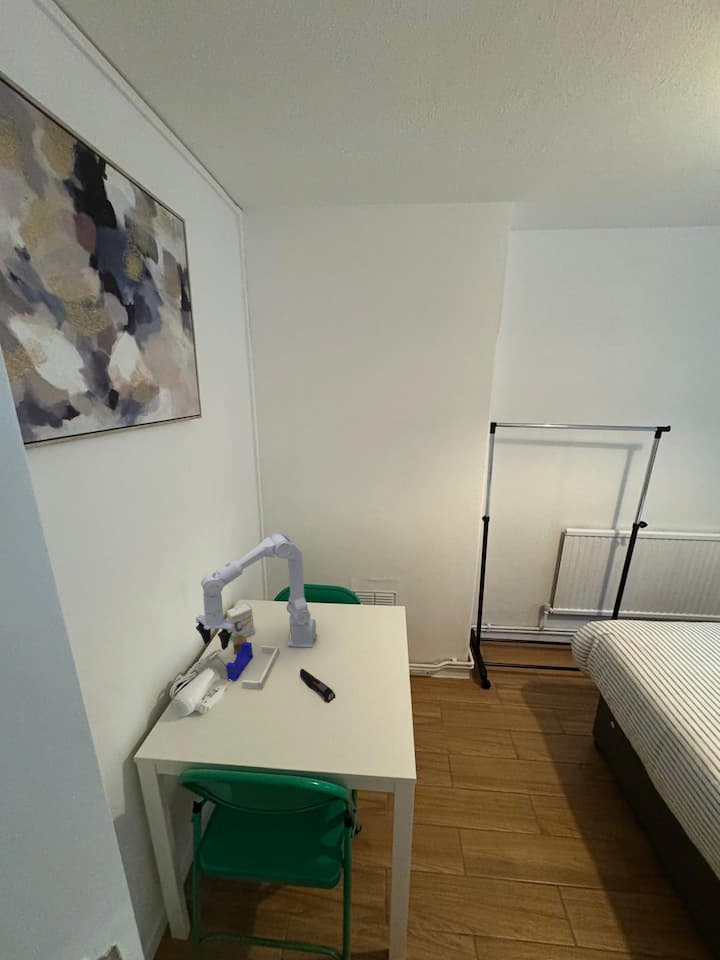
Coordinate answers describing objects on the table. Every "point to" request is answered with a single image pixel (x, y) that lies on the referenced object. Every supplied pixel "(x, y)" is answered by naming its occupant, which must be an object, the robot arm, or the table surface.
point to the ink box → (241, 621)
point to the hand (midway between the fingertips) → (216, 645)
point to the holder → (260, 683)
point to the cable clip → (240, 662)
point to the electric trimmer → (317, 685)
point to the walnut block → (238, 644)
